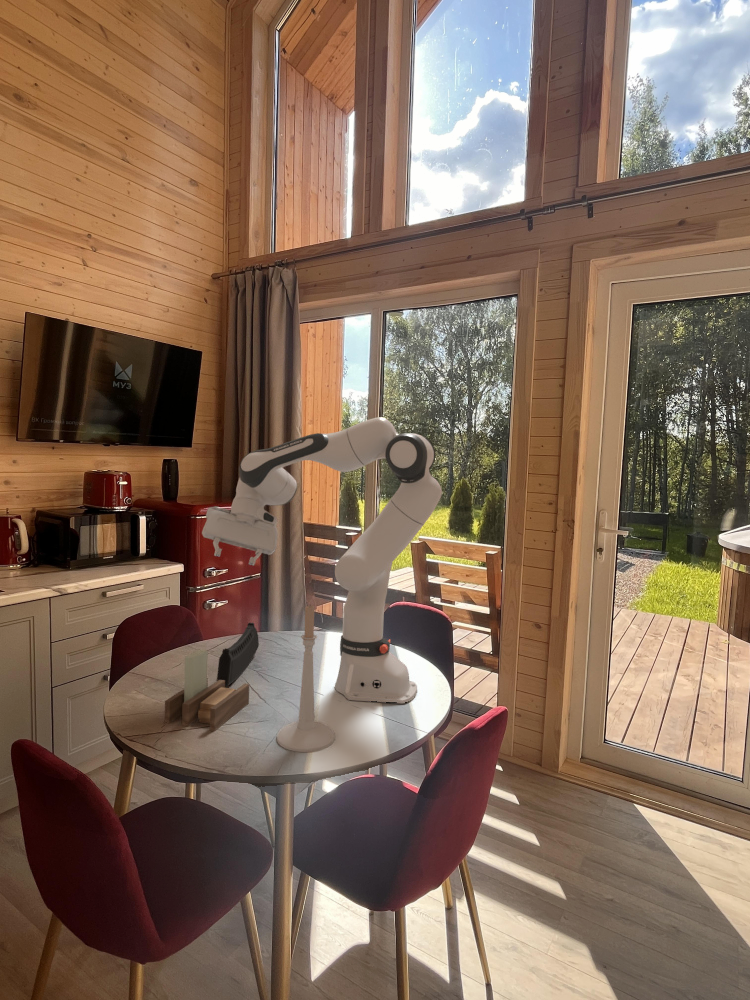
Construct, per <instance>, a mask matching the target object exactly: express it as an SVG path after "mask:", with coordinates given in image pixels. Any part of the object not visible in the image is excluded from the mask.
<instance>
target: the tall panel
mask: <svg viewBox="0 0 750 1000" xmlns="http://www.w3.org/2000/svg"><path fill="white" fill-rule="evenodd" d="M208 653H209V651H208V650H206V649H196V650H195V651H193V652H192V653H190V654H187V655H186V656H184V678H183V679H184V684H183V686H184V688H183V690H184V703H185V702H186V701H188V700H189V699H191V698H192V697H194V696H195V695H197V694H198V693H200V692H201V691H203V690H204V689H206V688H207V687H208V686H207V678H208V657H209V656H208Z"/></svg>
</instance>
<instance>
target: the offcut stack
mask: <svg viewBox="0 0 750 1000" xmlns="http://www.w3.org/2000/svg"><path fill="white" fill-rule="evenodd" d="M235 690H237V689H236V688H231V687H230V688H229V687H225V688H223V687H221V688H219V689H218V690H217V691H215V692H214V693H213V694H212V695H210V696H209V697H208V698H206V699H205V700H204V701H202V702H201V707H200V710H199V711H198V717H199V719H198V723H204V724H210V708H212V707H213V706H215V705H216V704H217V703H219V702H220V701H221V700H223V699H224V698H226V697H227V696H228V695H230V694H231V693H232V692H234V691H235Z"/></svg>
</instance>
